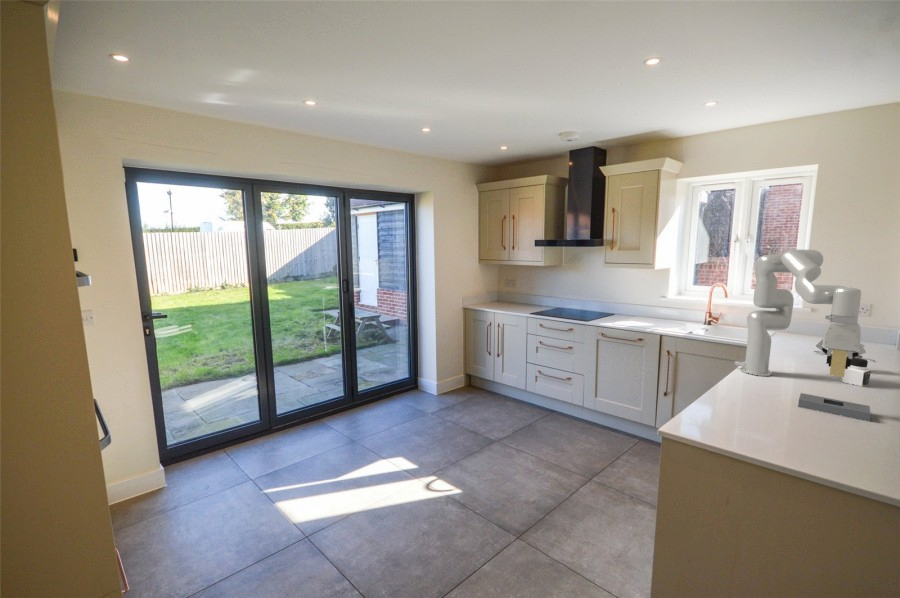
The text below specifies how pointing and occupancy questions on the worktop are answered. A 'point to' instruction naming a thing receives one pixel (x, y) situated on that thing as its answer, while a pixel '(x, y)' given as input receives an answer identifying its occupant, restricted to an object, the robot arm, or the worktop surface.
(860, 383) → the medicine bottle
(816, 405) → the grey socket block
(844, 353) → the brass peg
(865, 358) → the adjustable wrench
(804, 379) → the worktop surface
